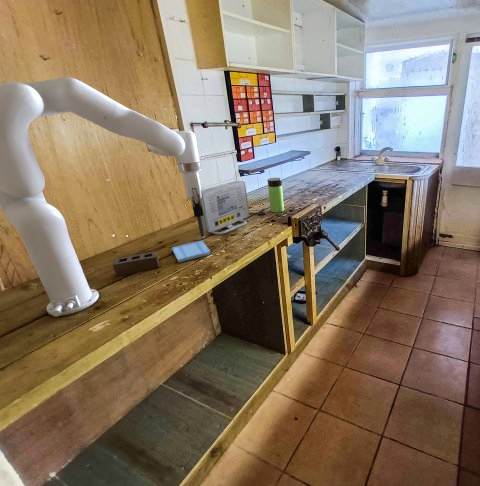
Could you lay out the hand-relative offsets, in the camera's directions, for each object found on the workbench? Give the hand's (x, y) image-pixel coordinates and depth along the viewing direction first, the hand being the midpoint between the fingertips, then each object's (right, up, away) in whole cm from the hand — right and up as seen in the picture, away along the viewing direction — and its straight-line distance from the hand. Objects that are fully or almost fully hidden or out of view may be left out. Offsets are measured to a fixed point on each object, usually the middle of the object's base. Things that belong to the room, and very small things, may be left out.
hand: (198, 215), depth 121 cm
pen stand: (-19, -20, -7) cm, 29 cm away
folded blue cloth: (-5, -15, +4) cm, 16 cm away
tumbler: (+23, +7, +50) cm, 56 cm away
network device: (+3, -3, +29) cm, 30 cm away
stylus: (0, -9, +4) cm, 10 cm away
